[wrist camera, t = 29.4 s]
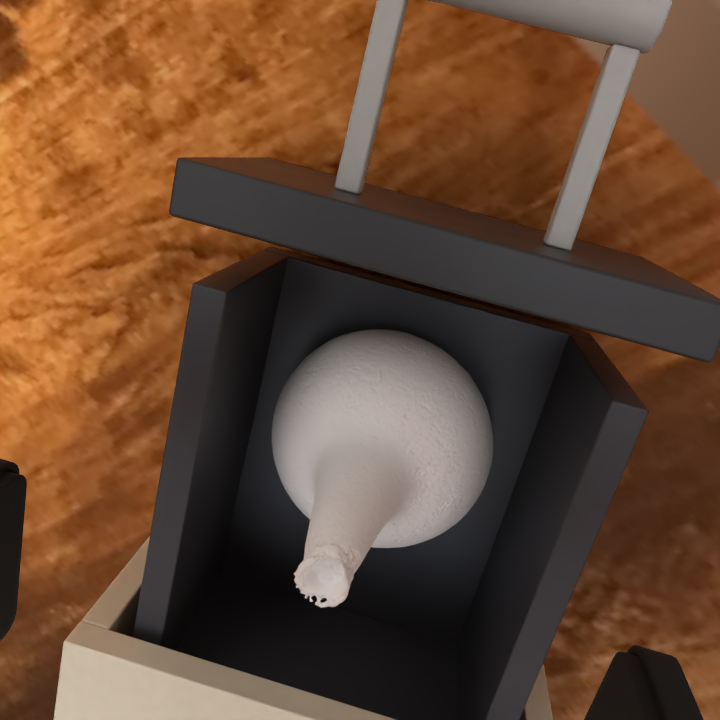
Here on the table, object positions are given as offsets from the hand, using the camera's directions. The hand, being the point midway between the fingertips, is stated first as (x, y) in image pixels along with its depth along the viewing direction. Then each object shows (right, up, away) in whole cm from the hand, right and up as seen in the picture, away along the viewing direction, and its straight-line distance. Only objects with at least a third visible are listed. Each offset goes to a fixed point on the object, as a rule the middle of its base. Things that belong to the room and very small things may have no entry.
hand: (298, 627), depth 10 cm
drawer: (+3, +5, +11) cm, 12 cm away
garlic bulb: (+2, +2, +11) cm, 11 cm away
